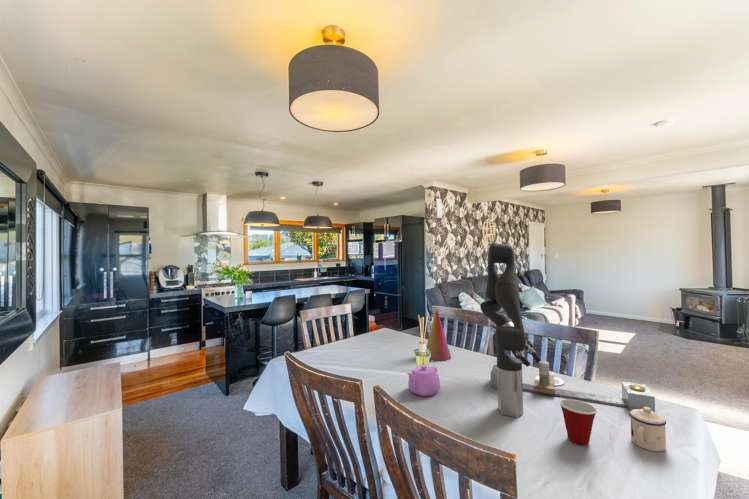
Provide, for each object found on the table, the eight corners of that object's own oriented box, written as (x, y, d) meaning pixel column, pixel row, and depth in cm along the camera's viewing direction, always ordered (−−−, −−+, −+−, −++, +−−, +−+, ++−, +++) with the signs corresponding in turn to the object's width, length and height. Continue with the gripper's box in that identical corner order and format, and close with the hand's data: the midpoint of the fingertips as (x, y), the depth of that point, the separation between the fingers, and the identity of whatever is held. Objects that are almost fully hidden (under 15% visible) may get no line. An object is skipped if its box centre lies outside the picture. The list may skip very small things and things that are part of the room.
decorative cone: (418, 357, 196) (417, 307, 197) (435, 351, 207) (433, 303, 207) (440, 363, 184) (439, 310, 185) (456, 356, 195) (455, 306, 195)
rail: (655, 415, 123) (654, 395, 123) (490, 388, 150) (490, 371, 150) (646, 401, 134) (645, 383, 134) (494, 378, 161) (494, 363, 161)
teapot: (425, 381, 159) (425, 357, 159) (448, 390, 149) (447, 364, 149) (396, 394, 146) (396, 368, 146) (419, 404, 136) (418, 376, 136)
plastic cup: (605, 443, 106) (604, 406, 106) (587, 454, 101) (586, 415, 101) (571, 428, 116) (570, 394, 116) (553, 437, 110) (552, 402, 110)
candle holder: (531, 382, 157) (531, 373, 157) (540, 374, 166) (540, 366, 166) (559, 389, 149) (559, 379, 149) (566, 381, 157) (566, 372, 157)
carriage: (555, 394, 140) (554, 366, 140) (534, 390, 143) (533, 364, 143) (554, 386, 148) (553, 360, 148) (534, 383, 151) (534, 358, 151)
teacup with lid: (635, 432, 112) (634, 398, 112) (670, 445, 104) (669, 409, 105) (622, 445, 105) (621, 409, 105) (659, 460, 97) (658, 421, 98)
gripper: (506, 331, 153) (530, 362, 143) (524, 327, 161) (548, 356, 151) (497, 340, 157) (519, 371, 148) (515, 335, 165) (537, 364, 155)
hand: (534, 363), depth 149 cm, fingers open, 8 cm apart
